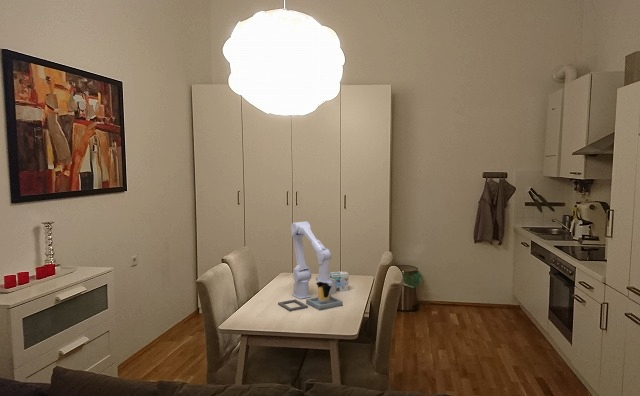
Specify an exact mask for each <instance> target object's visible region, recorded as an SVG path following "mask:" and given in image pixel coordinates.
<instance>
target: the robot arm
mask: <svg viewBox="0 0 640 396" xmlns="http://www.w3.org/2000/svg"><path fill="white" fill-rule="evenodd" d="M311 228H312V227H311V224H310V222H309V221H307V220H306V221H299V222H297V221H296V222H292V224H291V225H290V232H291V237H292V242H293V247H294V248H293V250H294V256H295V264H296V266H295V267H294V268H293V270H292V271H293V272H292V273H293V274H292V278H293V281H294V283H293V293H292V296H293V297H295V298H297V299H299V300H301V299H309V298H312V295H310V293H309V292H310V291H309V286H310V285H309V282H310V281H311V279H312V271H311V270H310V266H308V265H307V264H306V263H307V262H306V258H305V251H304V244H303V237H304V236H305V237H306V239H308V241H309V242H310V244H311V246H310V247H311V248H312V249H313V251H314V252H315V254H316V259H317V263H318V276H316V277H315V281H317V282H316V284H315V285H317V288H318V287H321V286H322V287H323V291H324V297H328V295H329V291H330V289H331V287H332V286H333V282H332V281H331V280H330V279H329V278H330V260H331V259H332V257H333V256H332V252H331V250H330V249H329V248H327V247H325V246H324V244H323V243H322V241H321V240H320V239H317V237H316V236H315V235H314V233H313V231H312V229H311Z"/></svg>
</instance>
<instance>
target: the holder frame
mask: <svg viewBox="0 0 640 396" xmlns="http://www.w3.org/2000/svg"><path fill="white" fill-rule="evenodd" d="M293 303H295V304H297V305H298V306H295V307H290V306H288V304H293ZM277 305H278V306H279V307H281V308H283V309H285V310H286V311H288V312H295V311H299V310H300V311H301V310H304V309H309V305H308V304H306V303H303V302H302V301H300V300H297V299H289V300H285V301H284V300H283V301H279V302H277Z"/></svg>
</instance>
